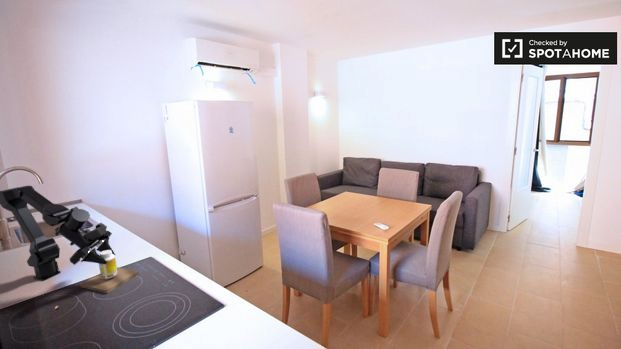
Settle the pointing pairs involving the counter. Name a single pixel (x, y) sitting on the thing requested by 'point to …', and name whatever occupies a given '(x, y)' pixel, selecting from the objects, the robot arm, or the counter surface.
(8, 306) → the counter surface
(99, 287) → the board
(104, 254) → the supplement bottle
